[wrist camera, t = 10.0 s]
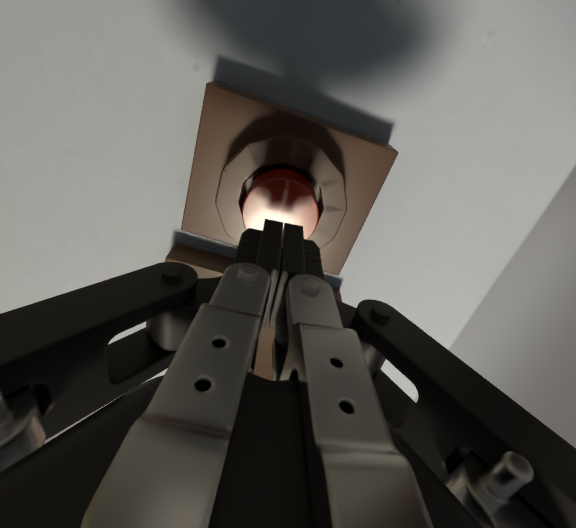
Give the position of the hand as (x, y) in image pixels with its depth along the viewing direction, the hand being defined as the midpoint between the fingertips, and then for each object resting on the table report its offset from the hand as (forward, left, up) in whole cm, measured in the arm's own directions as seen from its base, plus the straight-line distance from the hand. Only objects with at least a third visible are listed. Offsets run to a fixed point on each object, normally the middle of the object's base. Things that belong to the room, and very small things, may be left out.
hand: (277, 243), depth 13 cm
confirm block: (0, 0, -8) cm, 8 cm away
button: (0, 0, -5) cm, 5 cm away
